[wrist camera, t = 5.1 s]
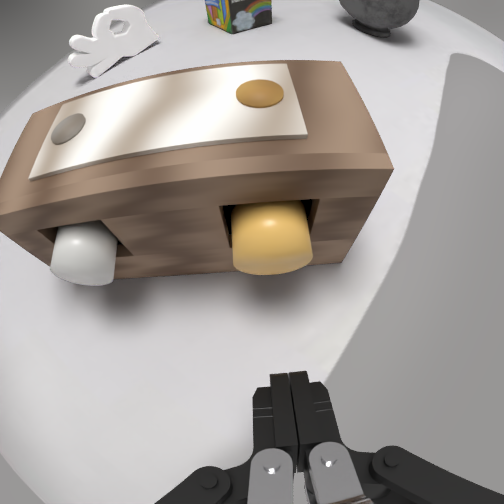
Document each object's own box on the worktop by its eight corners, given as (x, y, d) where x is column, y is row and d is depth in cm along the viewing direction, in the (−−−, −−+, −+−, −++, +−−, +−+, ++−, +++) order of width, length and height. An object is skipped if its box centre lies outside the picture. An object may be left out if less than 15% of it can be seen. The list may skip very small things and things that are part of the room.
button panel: (72, 281, 24) (-20, 215, 13) (89, 191, 28) (29, 109, 17) (341, 262, 24) (397, 162, 12) (320, 166, 28) (341, 56, 16)
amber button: (236, 277, 19) (228, 248, 15) (234, 234, 20) (227, 196, 16) (307, 271, 18) (318, 240, 14) (301, 229, 20) (309, 190, 16)
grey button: (73, 286, 19) (37, 264, 15) (79, 248, 20) (46, 221, 16) (124, 284, 19) (92, 259, 15) (128, 243, 20) (100, 212, 16)
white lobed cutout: (161, 38, 41) (135, -7, 30) (94, 91, 40) (58, 51, 30) (154, 35, 42) (128, -7, 31) (90, 86, 41) (56, 48, 31)
